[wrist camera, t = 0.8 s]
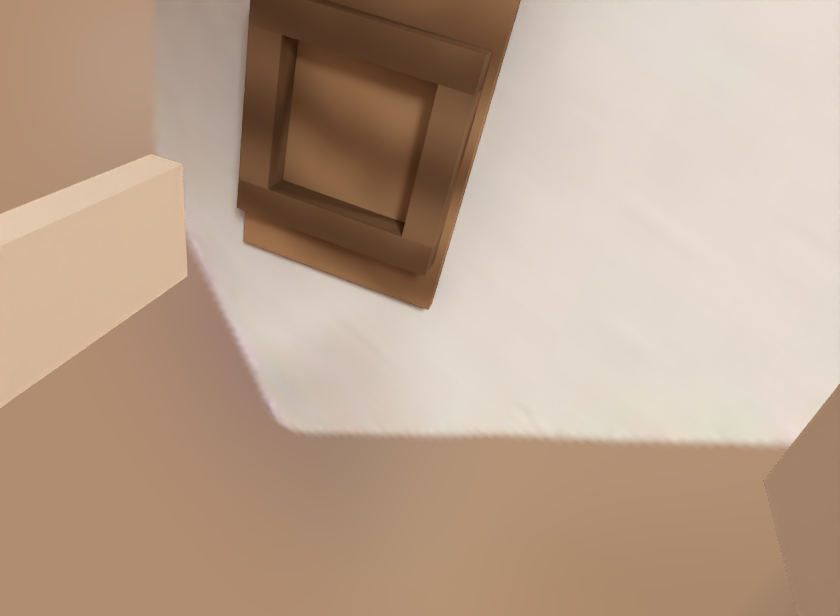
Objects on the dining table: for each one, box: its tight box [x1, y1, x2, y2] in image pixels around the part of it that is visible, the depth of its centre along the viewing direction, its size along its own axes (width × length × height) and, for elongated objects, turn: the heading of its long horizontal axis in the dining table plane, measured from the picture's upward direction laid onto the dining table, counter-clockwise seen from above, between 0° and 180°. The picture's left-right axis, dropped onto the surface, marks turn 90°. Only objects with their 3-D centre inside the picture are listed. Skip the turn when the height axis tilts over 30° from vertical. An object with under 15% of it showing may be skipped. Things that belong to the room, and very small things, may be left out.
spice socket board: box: [237, 0, 521, 310], centre depth 34 cm, size 20×14×3 cm
